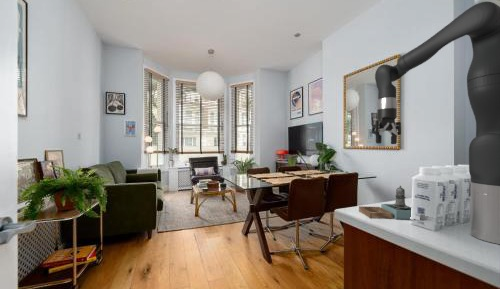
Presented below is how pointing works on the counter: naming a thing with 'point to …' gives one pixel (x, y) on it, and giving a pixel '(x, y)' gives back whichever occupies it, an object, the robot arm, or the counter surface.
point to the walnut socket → (375, 212)
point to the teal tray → (398, 212)
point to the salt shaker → (400, 200)
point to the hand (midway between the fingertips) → (386, 143)
